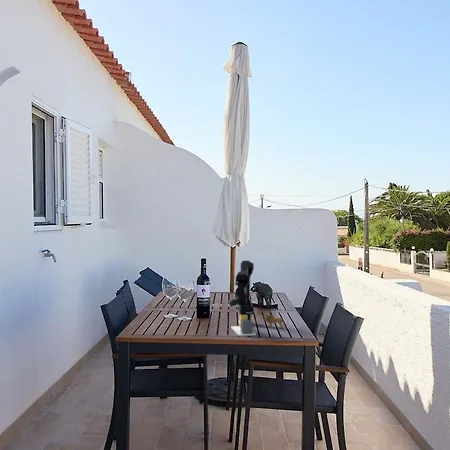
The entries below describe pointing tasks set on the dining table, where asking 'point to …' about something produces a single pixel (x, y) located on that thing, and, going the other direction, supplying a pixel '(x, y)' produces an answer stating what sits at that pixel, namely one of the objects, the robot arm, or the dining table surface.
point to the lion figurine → (273, 320)
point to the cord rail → (238, 330)
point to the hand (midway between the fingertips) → (241, 319)
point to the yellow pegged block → (242, 318)
